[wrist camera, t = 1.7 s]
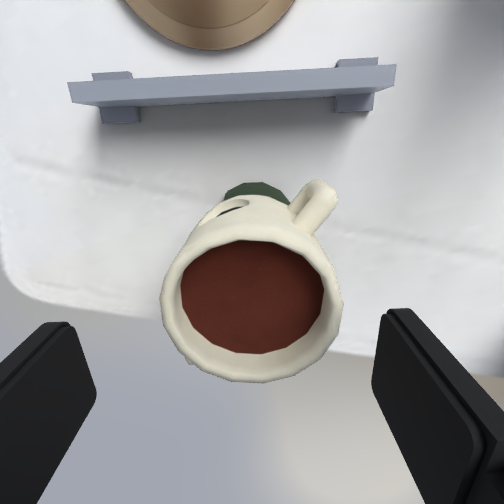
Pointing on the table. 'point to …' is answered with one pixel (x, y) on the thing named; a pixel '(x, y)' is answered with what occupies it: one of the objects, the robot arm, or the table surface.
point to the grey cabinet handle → (235, 88)
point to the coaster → (210, 20)
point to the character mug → (255, 286)
